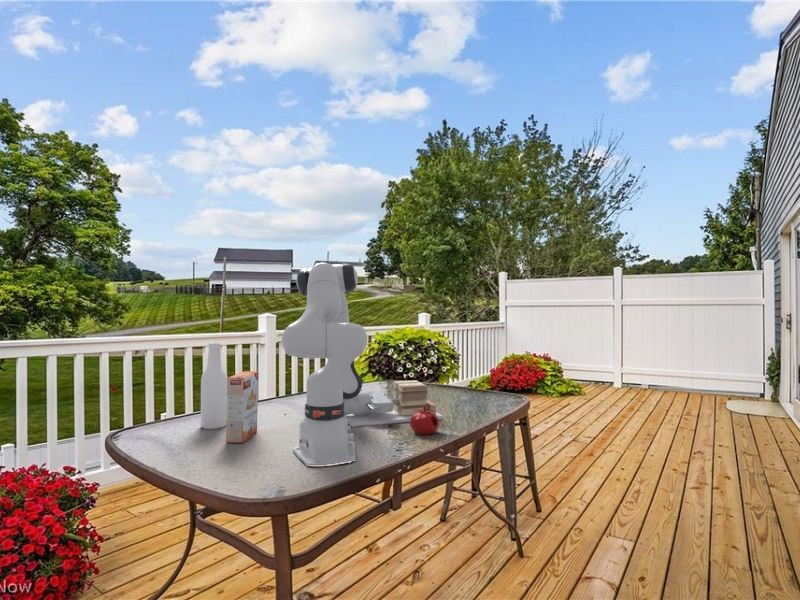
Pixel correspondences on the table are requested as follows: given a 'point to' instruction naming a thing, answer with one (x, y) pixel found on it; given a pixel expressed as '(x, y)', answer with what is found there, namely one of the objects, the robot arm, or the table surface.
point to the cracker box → (241, 406)
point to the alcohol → (214, 391)
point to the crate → (409, 396)
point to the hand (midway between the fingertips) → (397, 400)
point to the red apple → (424, 422)
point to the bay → (385, 417)
